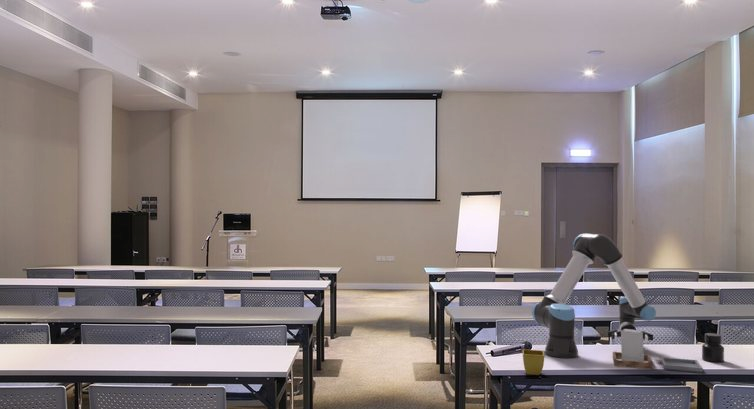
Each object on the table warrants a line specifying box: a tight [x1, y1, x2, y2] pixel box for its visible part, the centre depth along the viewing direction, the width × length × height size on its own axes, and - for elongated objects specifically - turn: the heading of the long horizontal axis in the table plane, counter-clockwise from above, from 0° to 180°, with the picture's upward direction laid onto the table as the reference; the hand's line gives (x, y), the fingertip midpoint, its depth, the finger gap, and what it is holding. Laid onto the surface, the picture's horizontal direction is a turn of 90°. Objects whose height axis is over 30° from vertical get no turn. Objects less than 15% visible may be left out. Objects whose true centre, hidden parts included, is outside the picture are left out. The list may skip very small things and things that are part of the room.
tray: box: [659, 356, 704, 374], centre depth 271 cm, size 15×15×2 cm
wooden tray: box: [612, 351, 654, 370], centre depth 278 cm, size 16×17×2 cm
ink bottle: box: [701, 332, 725, 363], centre depth 284 cm, size 10×9×12 cm
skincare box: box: [620, 329, 645, 362], centre depth 278 cm, size 8×6×15 cm
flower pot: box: [521, 349, 546, 376], centre depth 258 cm, size 9×9×9 cm
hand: (631, 339), depth 287 cm, fingers open, 13 cm apart
